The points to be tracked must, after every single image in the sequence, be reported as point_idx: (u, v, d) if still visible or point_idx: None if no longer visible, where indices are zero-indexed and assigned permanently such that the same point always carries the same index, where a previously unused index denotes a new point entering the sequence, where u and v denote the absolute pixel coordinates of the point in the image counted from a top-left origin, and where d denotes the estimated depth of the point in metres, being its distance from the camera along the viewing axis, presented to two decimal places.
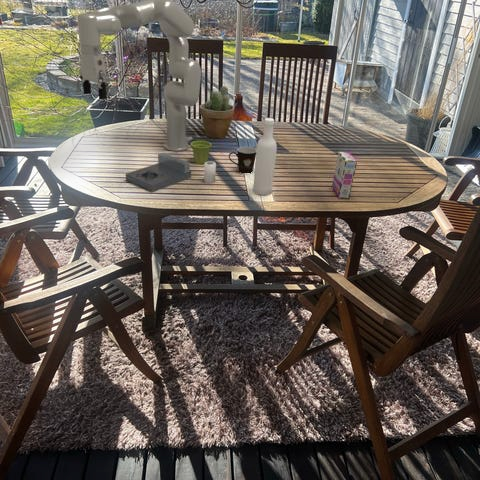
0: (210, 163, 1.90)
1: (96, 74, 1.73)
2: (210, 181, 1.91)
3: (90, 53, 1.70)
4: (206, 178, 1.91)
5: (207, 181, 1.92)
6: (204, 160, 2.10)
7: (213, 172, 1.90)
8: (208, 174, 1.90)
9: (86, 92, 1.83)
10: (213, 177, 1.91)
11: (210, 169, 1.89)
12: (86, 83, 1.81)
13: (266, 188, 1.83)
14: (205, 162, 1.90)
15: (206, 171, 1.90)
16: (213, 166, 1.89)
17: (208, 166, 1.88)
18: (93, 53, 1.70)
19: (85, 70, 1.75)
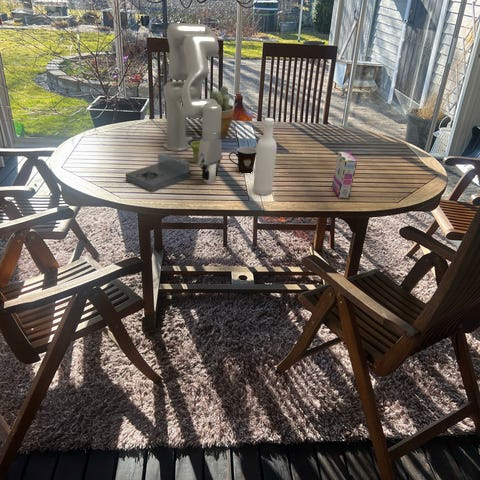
0: None
1: (221, 152, 1.90)
2: (210, 181, 1.91)
3: None
4: None
5: (207, 181, 1.91)
6: None
7: (213, 172, 1.90)
8: None
9: None
10: (213, 177, 1.91)
11: (210, 169, 1.89)
12: None
13: (266, 188, 1.83)
14: None
15: None
16: (213, 166, 1.89)
17: None
18: None
19: (212, 155, 1.85)
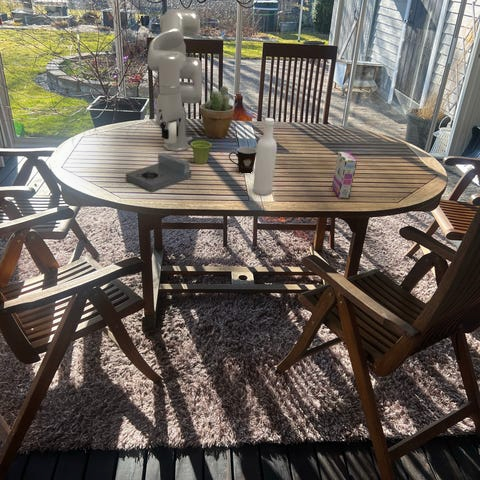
0: (170, 121, 1.78)
1: (181, 110, 1.78)
2: (170, 141, 1.79)
3: (179, 91, 1.73)
4: None
5: (167, 141, 1.79)
6: (204, 160, 2.10)
7: (173, 131, 1.78)
8: None
9: None
10: (174, 136, 1.79)
11: (170, 128, 1.77)
12: None
13: (266, 188, 1.83)
14: None
15: None
16: (173, 124, 1.76)
17: (168, 124, 1.76)
18: None
19: (171, 111, 1.73)
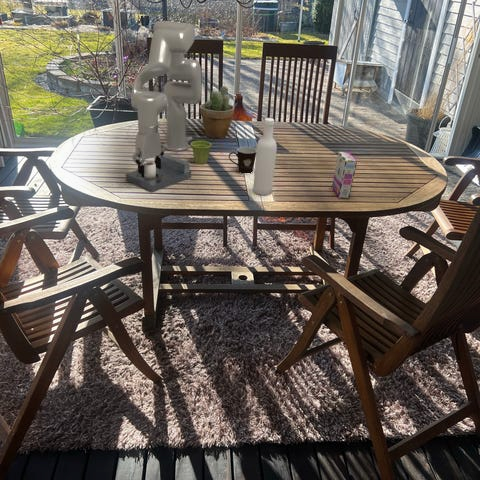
0: (149, 164, 1.85)
1: (160, 147, 1.84)
2: None
3: None
4: None
5: None
6: (204, 160, 2.10)
7: (152, 173, 1.85)
8: (147, 174, 1.85)
9: None
10: (153, 178, 1.86)
11: (149, 170, 1.84)
12: None
13: (266, 188, 1.83)
14: (144, 163, 1.85)
15: (145, 172, 1.85)
16: (152, 167, 1.83)
17: (147, 167, 1.83)
18: None
19: (150, 149, 1.79)
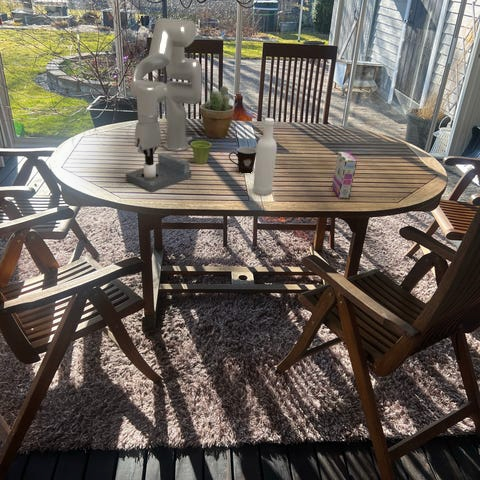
0: None
1: (160, 137, 1.82)
2: None
3: (157, 120, 1.77)
4: None
5: None
6: (204, 160, 2.10)
7: (152, 173, 1.85)
8: (147, 174, 1.85)
9: None
10: (153, 178, 1.86)
11: (149, 170, 1.84)
12: None
13: (266, 188, 1.83)
14: (144, 163, 1.85)
15: (145, 172, 1.85)
16: (152, 167, 1.83)
17: (147, 167, 1.83)
18: None
19: (150, 139, 1.77)
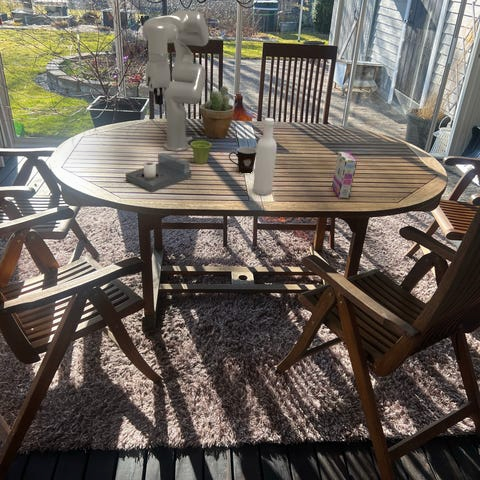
0: (149, 164, 1.85)
1: (169, 78, 1.90)
2: None
3: None
4: None
5: None
6: (204, 160, 2.10)
7: (152, 173, 1.85)
8: (147, 174, 1.85)
9: None
10: (153, 178, 1.86)
11: (149, 170, 1.84)
12: None
13: (266, 188, 1.83)
14: (144, 163, 1.85)
15: (145, 172, 1.85)
16: (152, 167, 1.83)
17: (147, 167, 1.83)
18: None
19: (160, 78, 1.86)
